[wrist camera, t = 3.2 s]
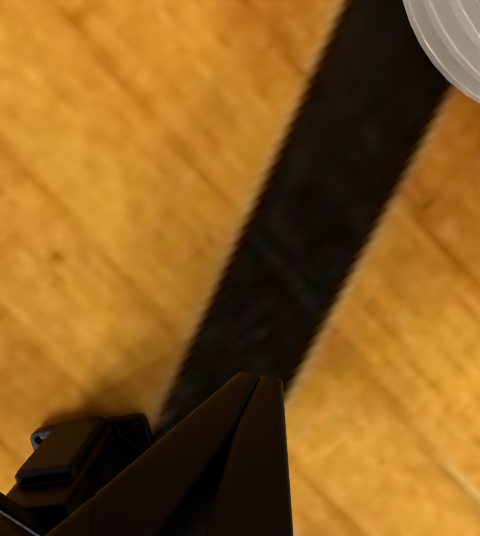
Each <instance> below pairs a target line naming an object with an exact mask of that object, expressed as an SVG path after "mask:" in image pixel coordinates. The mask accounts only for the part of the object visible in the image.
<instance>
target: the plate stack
mask: <svg viewBox="0 0 480 536" xmlns="http://www.w3.org/2000/svg"><path fill="white" fill-rule="evenodd" d="M403 3H404V6H405V9H406V12H407V16H408V19H409V22H410V24H411V27H412V29H413V31H414V33H415V35H416V37H417V39H418V41H419V43H420V45H421V47H422V48H423V50H424V51H425V53H426V54H427V56H428V57H429V59H430V60H431V62H432V63H433V65H434V66H435V67H436V68H437V69H438V70H439V71H440V72H441V73H442V74H443V76H444V77H445V78H446V79H447V80H448V81H449V82H450V83H451V84H453V85H454V86H455V87H456V88H458V89H459V90H460V91H461V92H462V93H464V94H465V95H466V96H468V97H469V98H471V99H473V100H474V101H476V102H478V103H479V104H480V0H403Z"/></svg>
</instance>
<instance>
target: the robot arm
mask: <svg viewBox="0 0 480 536" xmlns="http://www.w3.org/2000/svg"><path fill="white" fill-rule="evenodd" d="M134 422H138V423H140V424H141V426H137V425H135V423H134ZM39 436H41V437H43V439H44V440H42V439H41V438H40V437H39ZM31 443H32V446H33V449H34V452H33V454H32V455H31V456H30V457H29V458H28V460H27V461H26V462H25V463H24V464H23V465H22V467H21V468H20V469H19V470H18V472H17V474H16V475H15V479H16V482H17V483H16V484H15V485H14V486H13V488H12V489H11V490H10V491H9V492H8V494H7V495H6V496H5V495H4V494H2V493H1V492H0V536H293V523H292V509H291V495H290V481H289V466H288V452H287V438H286V424H285V410H284V395H283V383H282V380H281V379H278V378H272V377H267V376H263V377H260V376H259V375H257V374H252V373H247V372H240V373H238V374H236V375H235V376H234V377H233V378H232V379H230V380H229V381H228V382H227V383H226V384H225V385H223V386H222V387H221V388H220V389H219V390H218V391H216V392H215V393H214V394H213V395H212V396H210V397H209V398H208V399H207V400H206V401H205V402H203V403H202V404H201V405H200V406H199V407H197V408H196V409H195V410H194V411H193V412H192V413H190V414H189V415H188V416H187V417H186V418H185V419H183V420H182V421H181V422H180V423H179V424H177V425H176V426H175V427H174V428H173V429H172V430H170V431H169V432H168V433H167V434H166V435H164V436H163V437H162V438H161V439H160V440H159V441H157V442H156V443H155V444H154V440H153V437H152V433H151V430H150V426H149V423H148V420H147V418H146V417H145V416H144V415H142V414H130V415H123V416H116V417H109V418H105V417H102V416H98V417H92V418H85V419H78V420H71V421H64V422H59V423H58V424H57V425H54V426H47V427H41V428H38V429H37V430H36V431H35V432H34V433H33V434H32V435H31Z"/></svg>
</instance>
